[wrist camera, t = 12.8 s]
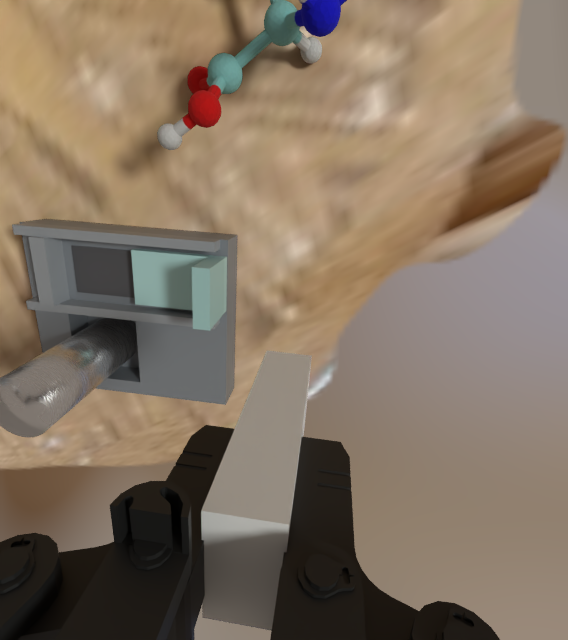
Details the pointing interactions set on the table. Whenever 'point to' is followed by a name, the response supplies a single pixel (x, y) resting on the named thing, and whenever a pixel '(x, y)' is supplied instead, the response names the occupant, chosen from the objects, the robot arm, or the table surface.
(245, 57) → the molecular model
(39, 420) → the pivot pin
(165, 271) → the lid
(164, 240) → the housing
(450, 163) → the table surface
